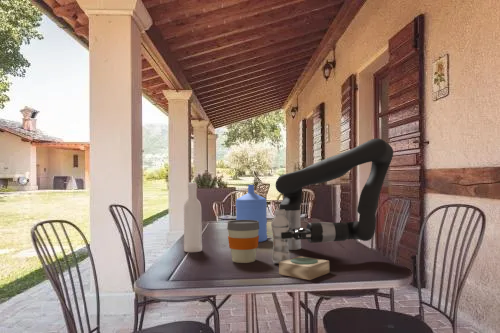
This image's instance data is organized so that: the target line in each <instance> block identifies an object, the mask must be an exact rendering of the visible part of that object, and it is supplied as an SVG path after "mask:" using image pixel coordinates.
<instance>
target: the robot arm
mask: <svg viewBox="0 0 500 333" xmlns="http://www.w3.org/2000/svg"><path fill="white" fill-rule="evenodd" d="M393 158H394V149H393V147H392V146H391V144H389V143H388V142H387V141H385V140H384V139H382V138H377V137H376V138H372V139H370V140H367V141H366V142H363V143H361V144H359V145H358V146H355V147H353V148H351V149H349V150H345V151H343V152H341V153H338V154H335V155H332V156H330V157H327V158H324V159H322V160H319V161H317V162H315V163H312V164H310V165H308V166H306V167H305V168H302V169H299V170H296V171H292V172H288V173H283V174H281V175H280V176H279V177H278V178H277V179H276V182H275V188H276V191H277V192H278V193H279V194H281V195H283V198H282V201H281V202H280V203H279V209H284V210H285V217H286V219H287V220H288V222H289V230H288V232H282V233H281V238H282V239H288V248H289V251H297V250H301V249H302V242H301V241H302V240H307V241H308V243H309V244H310V243H311V244H315V243H316V244H317V243H330V242H331V243H332V242H342V241H343V242H344V241H347V240H359V241H363V242H366V241H367V242H369V241H370V240H371V239H373V237H374V236H375V232H376V226H377V224H376V222H377V220H376V218H377V217H376V213H377V208H378V205H379V199H380V195H381V192H382V187H383V184H384V181H385V178H386V176H387V173H388V169H389V167H390V165H391V163H392V159H393ZM366 163H371V167H370V172H369V175H368V178H367V179H366V182H365V184H364V185H363V187H362V190H361V192H360V196H359V200H358V203H357V207H356V208H357V209H356V211H357V214H358V215H359V218H358V220H356V221H355V220H354V221H346V222H338V221H337V222H328V221H325V222H324V221H321V222H320V221H319V222H308V223H307V224H306V228H305V227H302V226H301V224H302V223H301V206H302V202H303V188H304V187H306V186H307V187H308V186H312V185H317V184H323V183H327V182H330V181H333V180H336V179H339V178H342V177H343V176H344V175H346V174H347V173H348V172H350V171H351V170H352V169H353V168H355V167H357V166H360V165H363V164H366Z"/></svg>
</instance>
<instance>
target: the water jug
mask: <svg viewBox="0 0 500 333" xmlns="http://www.w3.org/2000/svg"><path fill="white" fill-rule="evenodd" d="M247 187H248V188H247V193H246V194H243V195H241V196H240V197H237V198H236V200H235V209H236V211H235V215H236V217H235V218H236V219H235V220H256V221H259V228H260V229H259V231H258V236H259V240H258V243H262V242H266V241H267V240H268V233H267V229H268V228H267V227H268V225H267V223H268V218H267V216H268V215H267V198H266V197H263V196H261V195H259V194H257V193H255V184H248V185H247Z"/></svg>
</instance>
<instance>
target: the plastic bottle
mask: <svg viewBox="0 0 500 333" xmlns="http://www.w3.org/2000/svg"><path fill="white" fill-rule="evenodd" d="M288 230H289V222H288V220H287V219H286V217H285V210H284V209H280V208H277V209H274V218H273V220H272V221H271V231H272V239H273V240H272V241H273V243H272V252H271V253H272V254H271V260H272V263H274V264H278V265H279V262H281V261H284V260H288V259H291V256H290V250H289V248H288V239H282V238H281V233H282V232H288Z"/></svg>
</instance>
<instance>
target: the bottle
mask: <svg viewBox="0 0 500 333" xmlns="http://www.w3.org/2000/svg"><path fill="white" fill-rule="evenodd" d="M187 184H188V185H187V188H188V189H187V190H188V195H187V196H188V198H187V199H186V200H185V202H184V205H183V241H184V242H183V249H184V250H183V252H185V253H198V252H199V253H200V252H202V250H203V240H202V239H203V236H202V235H203V234H202V233H203V230H202V229H203V227H202V225H203V224H202V222H203V221H202V219H203V217H202V216H203V215H202V204H201V201H200V200H199V199H198V197H197V191H198V190H197V188H198V185H197V182H188V183H187Z"/></svg>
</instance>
